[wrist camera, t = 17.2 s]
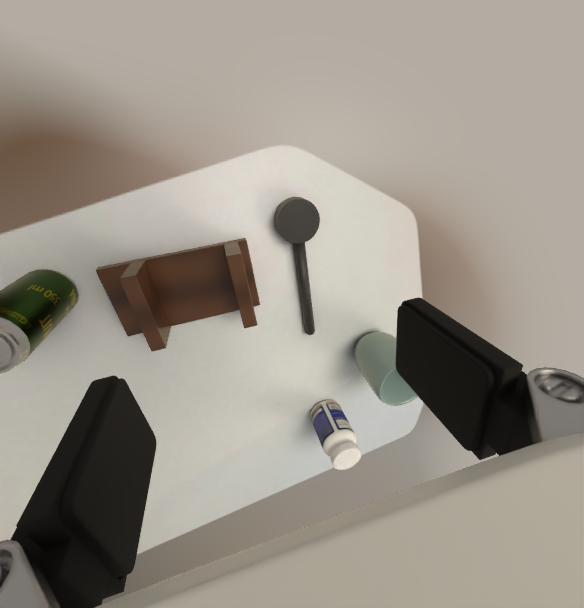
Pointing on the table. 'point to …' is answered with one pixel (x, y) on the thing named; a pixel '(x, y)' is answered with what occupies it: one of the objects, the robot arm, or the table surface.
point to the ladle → (299, 244)
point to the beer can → (32, 313)
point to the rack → (181, 289)
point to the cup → (382, 368)
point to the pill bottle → (335, 434)
